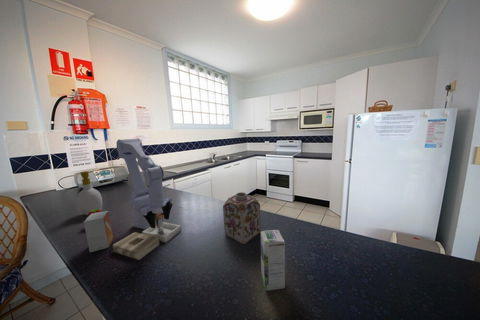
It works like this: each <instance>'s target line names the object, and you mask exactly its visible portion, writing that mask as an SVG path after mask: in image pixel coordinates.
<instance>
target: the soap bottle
mask: <svg viewBox="0 0 480 320" xmlns="http://www.w3.org/2000/svg"><path fill="white" fill-rule="evenodd" d="M89 173H91V171H88V170H87V171H81V172H80V176H81V178H82V179H81V183H82V184H81V187H82V190H81V191H80V192H78V194H77V198H76V199H77V204H78V207H79V209H80V210H81V212H82V214H84V215H86V216H88V212H89V213H90V211H92V209H98V208H99V209H100V210H101V211H102V209H103V197H102V195H101V193H100V191H99V190H97V189H95V188H94V187H93V184H92V183H91V178H89V177H90V174H89ZM92 207H93V208H92Z"/></svg>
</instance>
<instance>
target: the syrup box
mask: <svg viewBox="0 0 480 320" xmlns="http://www.w3.org/2000/svg"><path fill="white" fill-rule="evenodd" d="M283 237H284V236H283V235H282V234H281V232H280V230H278V229H269V230H261V232H260V267H261V269H260V271H261V272H260V273H261V278H262V282H263V287H264V290H265V292H266V291H267V292H268V291H275V290H281V289H285V288H286V242H285V239H284V238H283Z"/></svg>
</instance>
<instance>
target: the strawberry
mask: <svg viewBox="0 0 480 320" xmlns="http://www.w3.org/2000/svg"><path fill="white" fill-rule="evenodd" d="M92 208H93V207H92ZM98 212H104V211H102V210H100V209H99V208H98V209H92V211H90V213H89V212H88V215H87V218H88V217H89V216H90V214H93V213H98Z"/></svg>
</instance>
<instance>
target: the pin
mask: <svg viewBox="0 0 480 320" xmlns="http://www.w3.org/2000/svg"><path fill="white" fill-rule="evenodd" d="M163 219H164V213H163V212H157V213H156V216H155V224H156V231H157V234H159V235H163V234H164V226H163V222H164V221H163Z"/></svg>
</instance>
